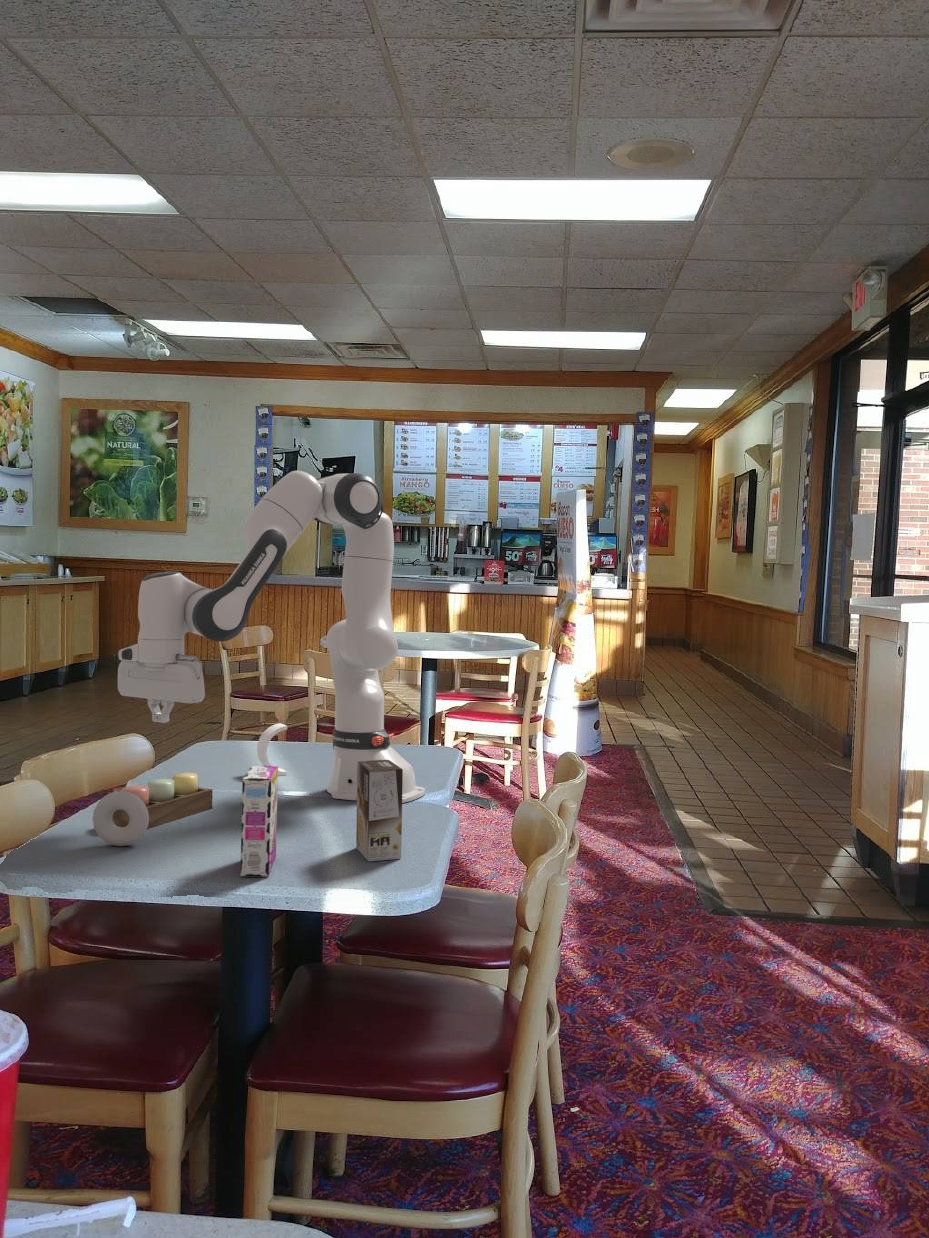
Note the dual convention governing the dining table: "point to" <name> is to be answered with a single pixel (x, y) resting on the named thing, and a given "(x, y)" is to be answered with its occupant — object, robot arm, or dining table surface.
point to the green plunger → (161, 790)
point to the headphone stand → (264, 743)
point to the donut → (106, 825)
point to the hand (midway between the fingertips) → (160, 721)
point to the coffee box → (379, 810)
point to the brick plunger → (139, 792)
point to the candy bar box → (259, 821)
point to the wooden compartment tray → (171, 808)
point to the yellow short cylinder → (185, 783)
